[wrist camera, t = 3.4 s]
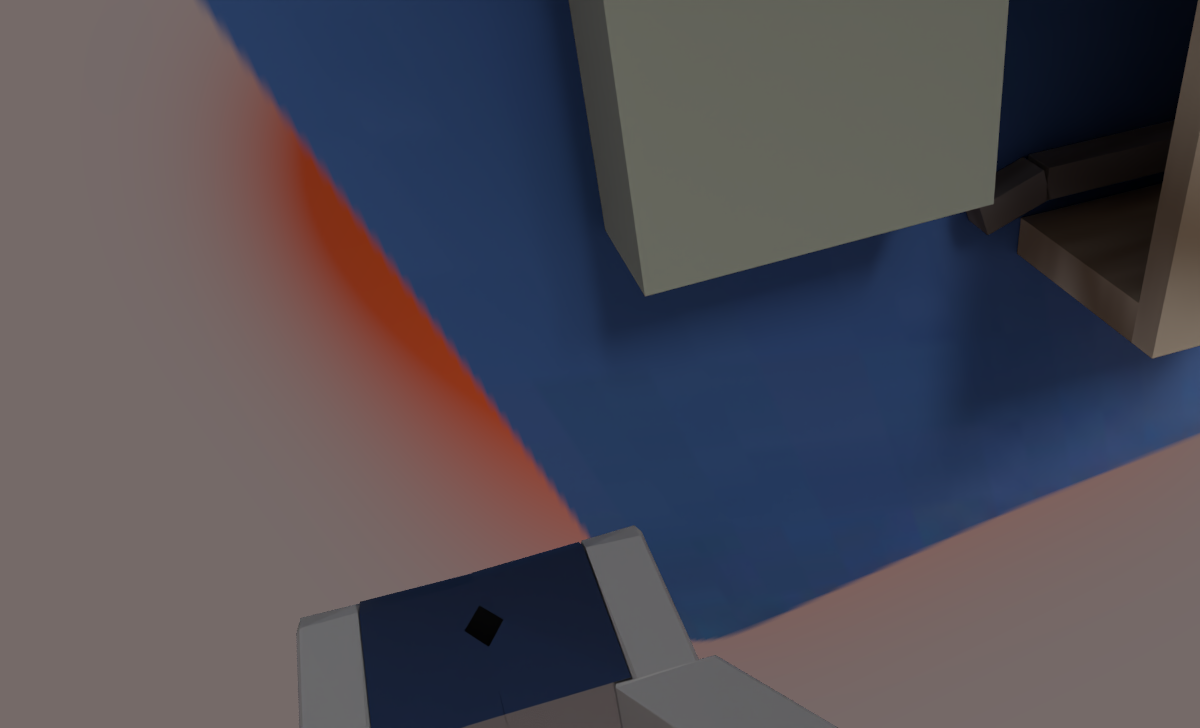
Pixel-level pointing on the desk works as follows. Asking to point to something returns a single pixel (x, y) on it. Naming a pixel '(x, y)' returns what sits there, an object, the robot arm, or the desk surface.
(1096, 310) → the low shelf
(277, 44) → the desk surface
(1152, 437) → the desk surface
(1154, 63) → the desk surface
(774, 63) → the case
